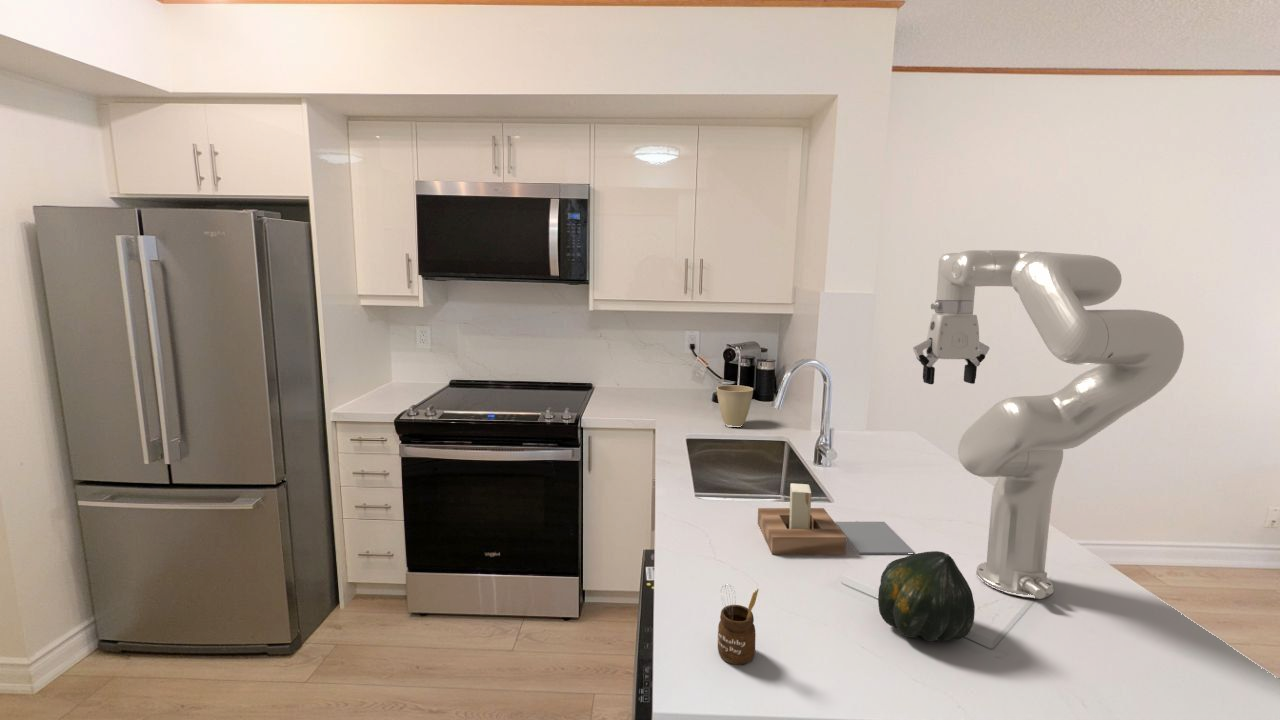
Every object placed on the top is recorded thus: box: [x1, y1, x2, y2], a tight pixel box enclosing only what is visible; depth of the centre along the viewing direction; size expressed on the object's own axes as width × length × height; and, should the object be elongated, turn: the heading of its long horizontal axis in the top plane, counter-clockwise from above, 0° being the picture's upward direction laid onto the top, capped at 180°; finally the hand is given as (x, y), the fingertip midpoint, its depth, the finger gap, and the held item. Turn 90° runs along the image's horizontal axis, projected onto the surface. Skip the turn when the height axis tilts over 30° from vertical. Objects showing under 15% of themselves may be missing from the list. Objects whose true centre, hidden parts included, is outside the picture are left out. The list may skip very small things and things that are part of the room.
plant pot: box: [716, 384, 754, 426], centre depth 233 cm, size 15×15×16 cm
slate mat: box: [834, 521, 916, 556], centre depth 132 cm, size 16×12×1 cm
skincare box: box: [789, 482, 812, 529], centre depth 131 cm, size 6×4×12 cm
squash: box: [877, 550, 976, 642], centre depth 96 cm, size 14×15×15 cm
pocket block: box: [757, 507, 847, 556], centre depth 131 cm, size 16×16×4 cm
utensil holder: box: [717, 583, 759, 665], centre depth 90 cm, size 6×6×12 cm
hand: (948, 383), depth 131 cm, fingers open, 9 cm apart
